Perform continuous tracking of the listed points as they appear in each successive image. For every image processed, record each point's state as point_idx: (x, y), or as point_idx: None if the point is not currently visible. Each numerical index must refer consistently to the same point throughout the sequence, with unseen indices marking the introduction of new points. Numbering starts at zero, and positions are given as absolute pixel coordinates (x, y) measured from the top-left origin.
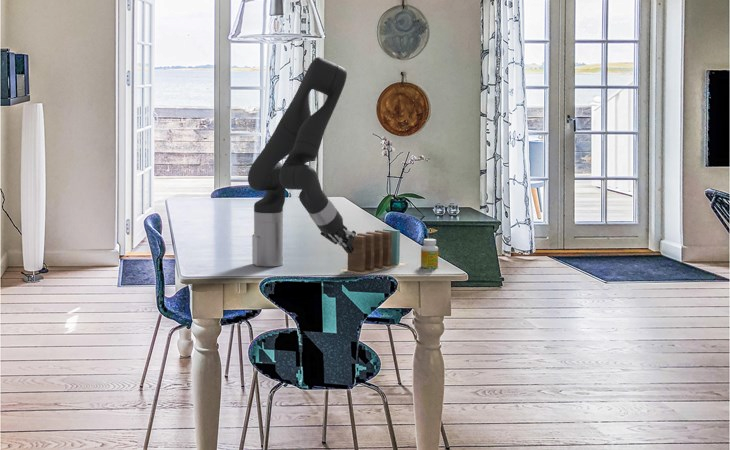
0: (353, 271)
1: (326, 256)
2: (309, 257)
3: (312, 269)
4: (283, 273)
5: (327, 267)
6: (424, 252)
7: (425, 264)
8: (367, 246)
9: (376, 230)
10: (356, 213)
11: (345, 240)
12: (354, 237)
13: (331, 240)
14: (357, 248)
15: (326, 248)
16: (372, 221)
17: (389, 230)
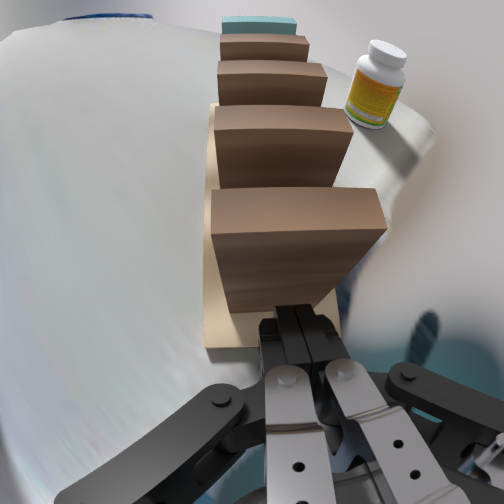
0: (269, 315)
1: (33, 159)
2: (3, 199)
3: (76, 352)
4: (65, 475)
5: (95, 280)
6: (387, 89)
7: (380, 117)
8: (305, 184)
9: (224, 38)
10: (31, 30)
11: (302, 376)
12: (462, 389)
13: (203, 475)
14: (311, 272)
15: (19, 115)
16: (52, 26)
17: (256, 23)
